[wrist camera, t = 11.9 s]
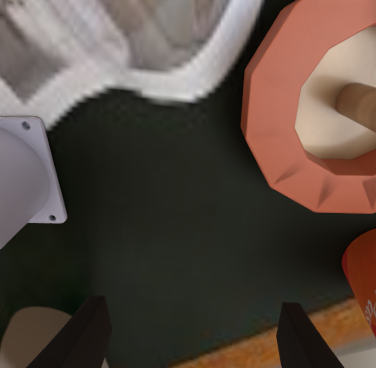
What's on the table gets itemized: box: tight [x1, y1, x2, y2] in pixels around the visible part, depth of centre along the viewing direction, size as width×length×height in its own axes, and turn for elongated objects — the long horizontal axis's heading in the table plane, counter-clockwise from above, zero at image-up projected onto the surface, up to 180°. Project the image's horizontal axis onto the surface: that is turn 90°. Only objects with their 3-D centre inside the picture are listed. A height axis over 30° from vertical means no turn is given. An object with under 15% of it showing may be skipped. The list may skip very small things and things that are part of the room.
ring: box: [241, 0, 376, 214], centre depth 14 cm, size 12×12×2 cm
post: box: [295, 27, 376, 159], centre depth 14 cm, size 8×8×6 cm
